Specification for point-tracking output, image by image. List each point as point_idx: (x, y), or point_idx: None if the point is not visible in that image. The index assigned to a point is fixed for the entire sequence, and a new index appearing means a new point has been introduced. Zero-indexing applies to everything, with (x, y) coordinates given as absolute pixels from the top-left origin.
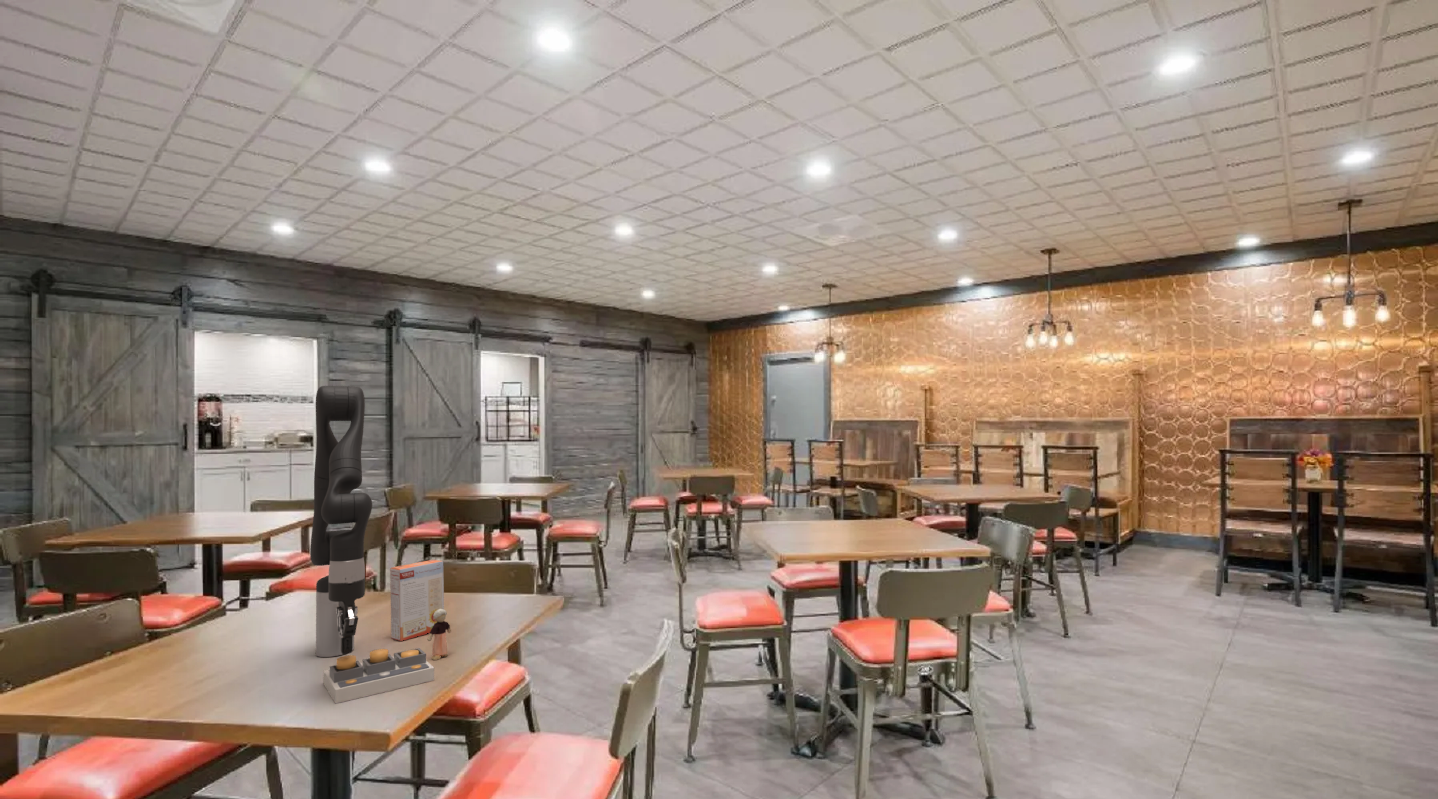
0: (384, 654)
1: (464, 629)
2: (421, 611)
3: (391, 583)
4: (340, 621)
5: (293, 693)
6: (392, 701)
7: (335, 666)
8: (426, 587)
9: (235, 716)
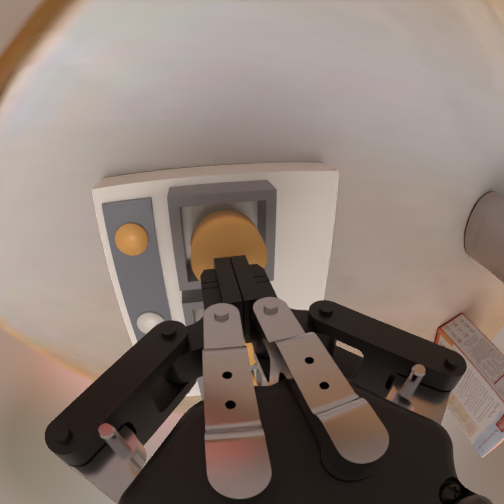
0: None
1: None
2: None
3: None
4: (204, 397)
5: (293, 77)
6: (57, 299)
7: (266, 208)
8: (473, 417)
9: None
